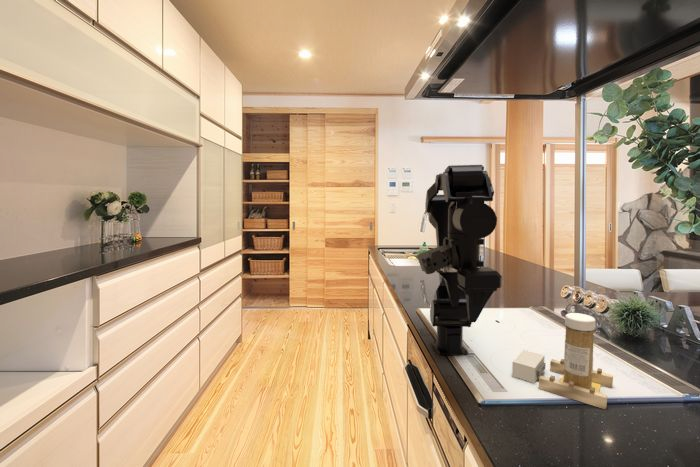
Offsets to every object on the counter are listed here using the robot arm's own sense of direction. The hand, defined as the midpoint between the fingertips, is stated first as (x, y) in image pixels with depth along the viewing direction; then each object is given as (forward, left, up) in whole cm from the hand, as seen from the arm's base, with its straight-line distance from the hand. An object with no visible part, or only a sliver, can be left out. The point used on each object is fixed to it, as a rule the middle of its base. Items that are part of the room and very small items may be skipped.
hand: (462, 313), depth 67 cm
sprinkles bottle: (+5, +20, -13) cm, 24 cm away
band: (+5, +20, -13) cm, 24 cm away
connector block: (-1, +14, -13) cm, 19 cm away
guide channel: (+5, +20, -13) cm, 24 cm away
